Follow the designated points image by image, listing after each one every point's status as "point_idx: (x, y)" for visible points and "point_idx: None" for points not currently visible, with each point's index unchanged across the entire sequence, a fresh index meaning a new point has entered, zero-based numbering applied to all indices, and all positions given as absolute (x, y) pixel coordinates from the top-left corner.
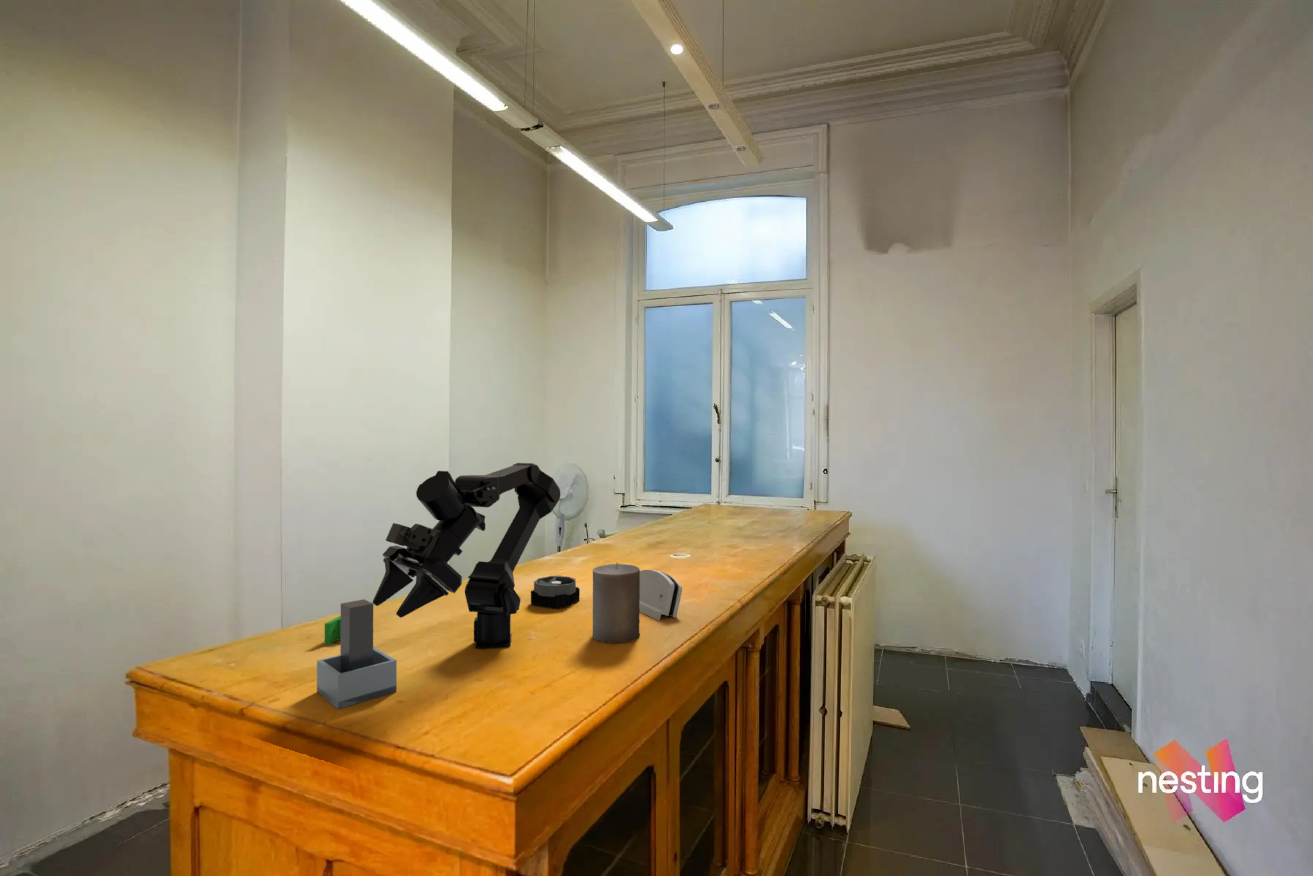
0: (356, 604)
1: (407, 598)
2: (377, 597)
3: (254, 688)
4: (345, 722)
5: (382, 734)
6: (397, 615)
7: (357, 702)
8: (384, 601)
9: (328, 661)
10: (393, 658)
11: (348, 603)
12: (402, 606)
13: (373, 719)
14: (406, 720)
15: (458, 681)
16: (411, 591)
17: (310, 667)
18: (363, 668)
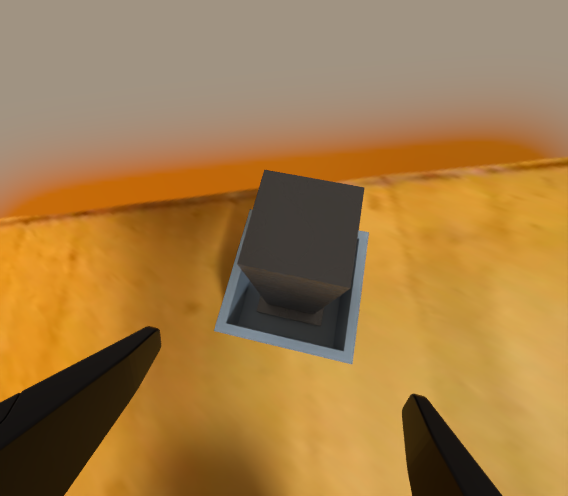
0: (292, 214)
1: (62, 380)
2: (423, 425)
3: (450, 208)
4: (208, 216)
5: (130, 222)
6: (159, 334)
7: None
8: (407, 460)
9: (356, 252)
10: (230, 334)
11: (337, 205)
12: (109, 346)
13: (179, 242)
14: (129, 266)
15: (155, 448)
16: (7, 425)
17: (490, 314)
18: (238, 257)
